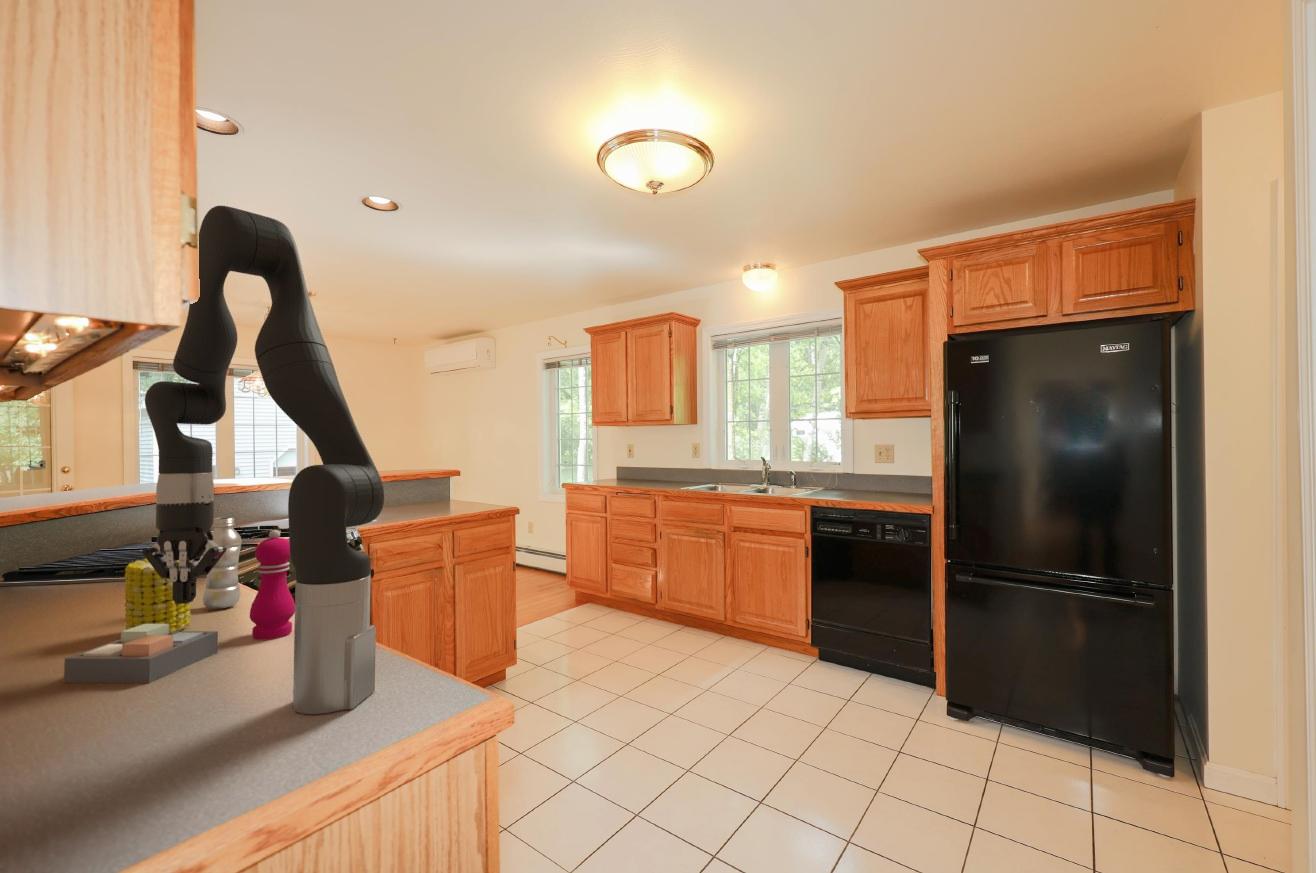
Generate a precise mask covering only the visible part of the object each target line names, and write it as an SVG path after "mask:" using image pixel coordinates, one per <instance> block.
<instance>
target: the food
mask: <svg viewBox="0 0 1316 873" xmlns="http://www.w3.org/2000/svg"><path fill="white" fill-rule="evenodd" d="M178 561H179V560H177V562H178ZM164 567H165V566H164ZM124 570H125V572H124V578H125V582H124V584H125V589H124V592H125V594H124V595H125V596H124V600H125V602H124V605H123V606H124V607H125V610H124V611H125V622H126V625H125V626H124V627H125V630H127V629H131V628H134V627H137V626H140V625H143V624H169V631H182V630H183V629H185V628H187V627H189V626H190V622H191V616H192V614H191V612H192V611H191V610H190V609H191V605H190V603H191V602H189V603H186V604H175V602H174V600H173V598H172V592H173V583H172V581H171V580H170V579H168V578H161V577H160V576H159V574H158V573H157V572H156V571H155V569H154V568H153V567H152V565H151V564H150V563H149V561H148V560H147V559H146V558H144V559H143V560H135V561H133V562H131V563H128V565H126V567H125V569H124ZM179 571H180V567H179Z"/></svg>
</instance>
